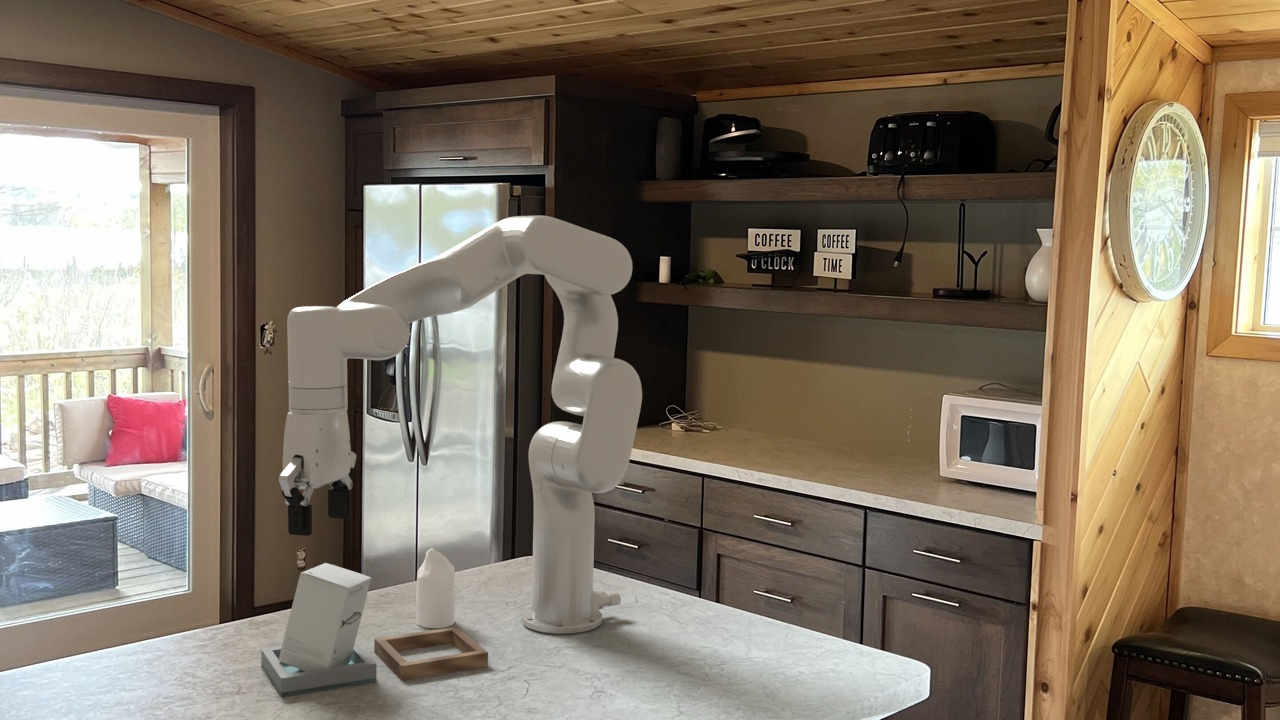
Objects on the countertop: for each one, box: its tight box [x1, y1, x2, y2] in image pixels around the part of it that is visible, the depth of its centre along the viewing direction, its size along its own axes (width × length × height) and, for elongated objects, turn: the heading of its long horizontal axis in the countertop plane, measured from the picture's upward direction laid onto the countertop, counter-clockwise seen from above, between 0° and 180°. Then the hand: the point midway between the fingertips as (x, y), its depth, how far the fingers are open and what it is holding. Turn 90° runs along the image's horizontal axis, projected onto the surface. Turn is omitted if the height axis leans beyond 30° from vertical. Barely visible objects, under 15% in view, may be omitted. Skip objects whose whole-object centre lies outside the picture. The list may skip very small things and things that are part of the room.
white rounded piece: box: [415, 548, 456, 629], centre depth 176 cm, size 6×12×6 cm
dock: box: [260, 640, 378, 698], centre depth 154 cm, size 12×12×2 cm
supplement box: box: [278, 562, 372, 671], centre depth 153 cm, size 7×7×13 cm
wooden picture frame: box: [374, 626, 489, 681], centre depth 160 cm, size 12×12×2 cm
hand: (320, 526), depth 152 cm, fingers open, 9 cm apart
